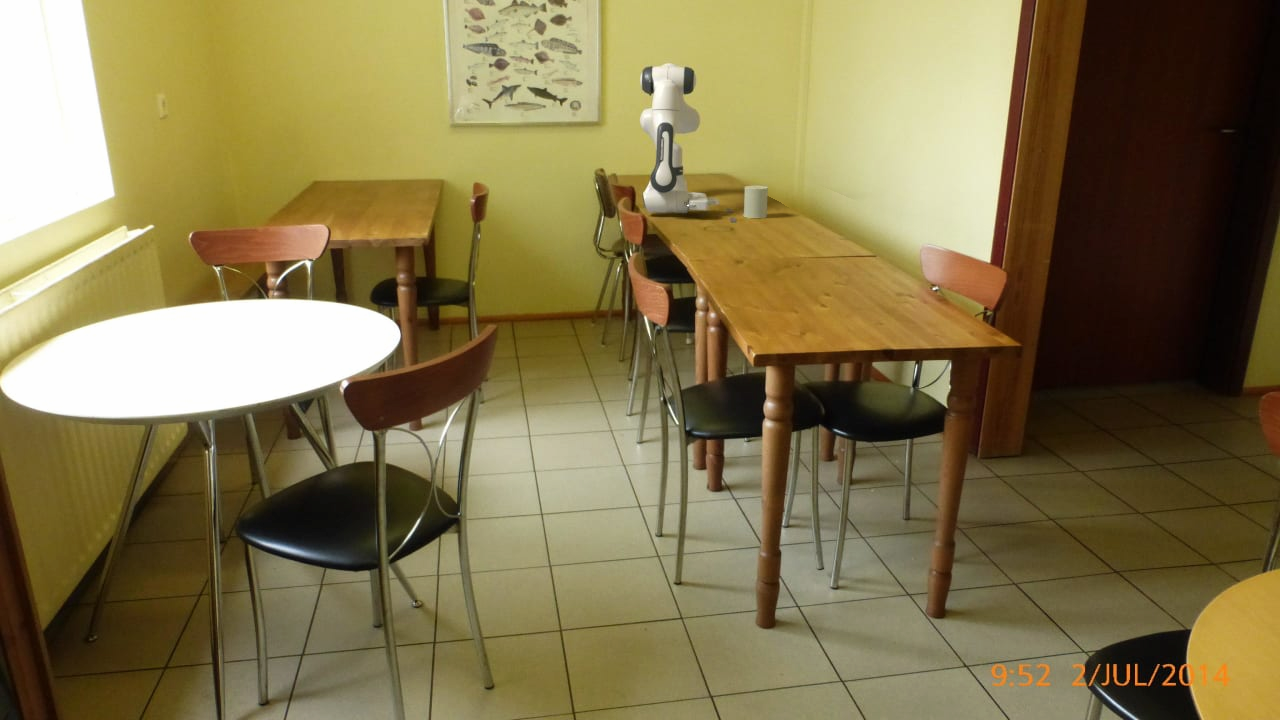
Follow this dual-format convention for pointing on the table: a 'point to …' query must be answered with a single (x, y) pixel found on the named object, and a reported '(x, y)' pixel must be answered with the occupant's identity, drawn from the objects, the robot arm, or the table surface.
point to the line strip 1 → (729, 211)
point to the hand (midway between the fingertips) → (718, 201)
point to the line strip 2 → (732, 219)
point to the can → (755, 202)
